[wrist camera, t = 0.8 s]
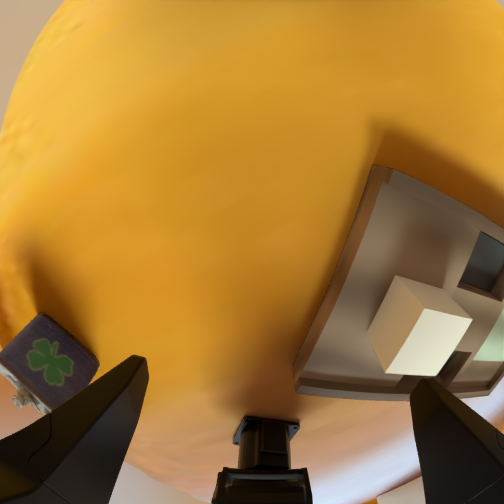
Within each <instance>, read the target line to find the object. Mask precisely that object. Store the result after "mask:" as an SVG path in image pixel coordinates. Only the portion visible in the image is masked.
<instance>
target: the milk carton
mask: <svg viewBox="0 0 504 504" xmlns="http://www.w3.org/2000/svg"><path fill="white" fill-rule="evenodd" d="M376 498H377V502H378V504H426V503H425V495H424V487H423V481H422V476H421V477H419V478H417V479H415V480H413V481H411V482H409V483H406V484H404V485H402V486H400V487H398V488H396V489H393V490H391V491H389V492H386V493H384V494H381V495H379V496H376Z"/></svg>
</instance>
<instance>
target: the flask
mask: <svg viewBox="0 0 504 504" xmlns="http://www.w3.org/2000/svg"><path fill="white" fill-rule="evenodd" d="M99 366H100V365H99V362H98V360H97V358H95V356H94V355H93V354H92V353H91V352H90V351H89V350H88V349H86V348H85V346H84V345H82V344H81V342H79V341H78V340H77V339H75V338H74V337H73V336H72V335H70V334H69V333H68V332H67V331H66V330H65V329H63V328H62V327H61V326H60V325H59V324H58V323H57V322H55V321H54V320H53V319H52V318H51V317H49V316H47V315H45V314H43V313H40V314H38V315H36V316H35V318H34V319H33V320H31V322H30V323H29V324H28V325H27V326H26V327H25V328H24V329H23V330H22V331H21V332H20V333H19V334H18V335H17V336H15V338H14V339H13V340H12V341H11V342H10V343H9V344H8V345H7V346H6V347H5V348H4V349H3V350H2V351H1V352H0V373H1V374H2V375H3V376H4V377H6V378H7V379H8V380H9V381H10V382H11V383H12V384H13V385H14V386H15V387H16V388H18V389H19V390H17V393H18V394H17V396H16V395H14V397H15V398H14V399H12V400H13V402H14V403H15V404H16V406H17V407H20V408H22V409H23V405H26V404H28V405H30V406H33V405H34V406H35V408H36V409H37V410H38V411H39V412H40V410H41V411H42V412H43V413H44V414H45V415H46V414H47V413H51V411H52V410H53V409H55V408H56V407H58V406H59V405H61V404H62V403H64V402H65V401H67V400H68V399H70V398H71V397H72V396H74V395H75V394H77V393H78V392H80V391H81V390H83V389H84V388H86V387H87V386H88V385H89V383H90V382H91V380H92V378H93V377H94V376H95V374H96V372H97V370H98V367H99Z"/></svg>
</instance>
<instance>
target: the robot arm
mask: <svg viewBox="0 0 504 504" xmlns="http://www.w3.org/2000/svg"><path fill="white" fill-rule="evenodd" d="M148 382H149V372H148V366H147V360H146V358H145V357H142V356H138V355H131V356H130V357H129V358H127V359H126V360H124V361H123V362H121V363H120V364H119V365H117V366H116V367H114V368H113V369H111V370H110V371H109V372H107V373H106V374H104V375H103V376H101V377H100V378H98V379H97V380H96V381H94V382H93V383H91V384H90V385H88V386H87V387H86V388H84V389H83V390H81V391H80V392H78V393H77V394H75V395H74V396H72V397H71V398H70V399H68V400H67V401H65V402H64V403H62V404H61V405H59V406H58V407H56V408H55V409H53V410H52V411H51V413H47V414H46V415H44V416H43V417H42V418H40V419H38V420H37V421H35V422H34V423H32V424H30V425H29V426H27V427H25V428H23V429H21V430H20V431H18V432H16V433H14V434H12V435H10V436H7V437H5V438H4V439H1V440H0V504H108V503H109V500H110V497H111V495H112V492H113V489H114V486H115V483H116V480H117V477H118V474H119V472H120V469H121V466H122V463H123V461H124V458H125V455H126V453H127V450H128V447H129V445H130V442H131V439H132V437H133V434H134V432H135V429H136V426H137V423H138V420H139V417H140V413H141V409H142V405H143V401H144V397H145V393H146V389H147V385H148ZM410 406H411V414H412V421H413V430H414V437H415V442H416V447H417V452H418V457H419V462H420V468H421V474H422V481H423V487H424V495H425V503H426V504H504V434H503V433H501V432H500V431H499V430H498V429H496V428H495V427H494V426H493V425H491V424H490V423H489V422H488V421H486V420H485V419H484V418H483V417H481V416H480V415H479V414H478V413H476V412H475V411H474V410H472V409H471V408H470V407H469V406H467V405H466V404H465V403H464V402H462V401H461V400H460V399H459V398H457V397H456V396H455V395H453V394H452V393H451V392H450V391H448V390H447V389H446V388H445V387H443V386H442V385H441V384H439V383H438V382H437V381H436V380H434V379H433V378H431V377H426V378H421V379H420V380H419V381H418V383H417V384H416V386H415V387H414V389H413V390H412V392H411V394H410ZM299 429H300V424H299V423H292V422H284V421H276V420H269V419H262V418H256V417H250V416H246V417H244V418H243V420H242V422H241V424H240V427H239V429H238V431H237V433H236V435H235V437H234V439H233V444H234V445H239V446H240V447H239V458H238V469H235V468H229V467H223V471H222V472H219V473H218V477H217V484H216V488H215V491H214V494H213V497H212V502H211V503H212V504H313V500H312V492H311V487H310V482H309V476H308V471H307V468H301V469H291V454H290V440H291V439H292V438H293V436H294V435H295V434H296V433H297V431H298V430H299Z"/></svg>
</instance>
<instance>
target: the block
mask: <svg viewBox="0 0 504 504" xmlns="http://www.w3.org/2000/svg"><path fill="white" fill-rule="evenodd" d="M472 320H473V319H472V318H471V317H470V316H469V315H468V314H467V313H466V312H465V311H464V310H463V309H462V308H461V307H460V306H459V305H458V304H457V303H456V302H455V301H454V300H453V299H452V298H451V297H450V296H449V295H448V294H447V293H446V292H445V291H444V290H443V289H441V288H437V287H434V286H431V285H427V284H424V283H421V282H417V281H414V280H411V279H407V278H404V277H400V276H397V275H395V277H394V279H393V281H392V283H391V285H390V287H389V289H388V292H387V294H386V296H385V298H384V300H383V302H382V304H381V306H380V308H379V310H378V312H377V314H376V316H375V317H374V319H373V321H372V323H371V325H370V327H369V329H368V331H367V332H366V333H367V335H368V337H369V340H370V342H371V344H372V346H373V348H374V350H375V352H376V354H377V357H378V359H379V361H380V363H381V365H382V368H383V370H384V372H385V373H392V374H405V375H423V376H436V375H437V374H438V372H439V371H440V370H441V368H442V367H443V365H444V364H445V363H446V361H447V360H448V358H449V357H450V355H451V354H452V352H453V351H454V349H455V348H456V346H457V345H458V343H459V342H460V340H461V338H462V337H463V335H464V333H465V332H466V330H467V328H468V327H469V325H470V323H471V322H472Z"/></svg>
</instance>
